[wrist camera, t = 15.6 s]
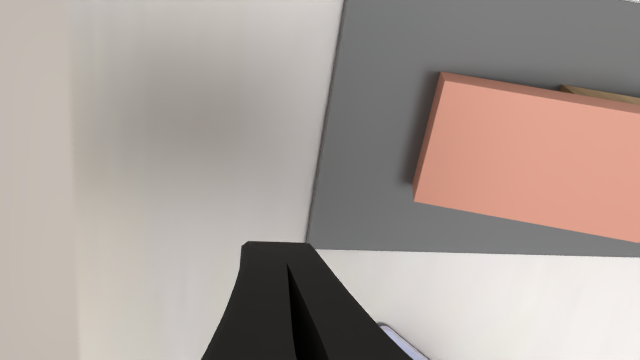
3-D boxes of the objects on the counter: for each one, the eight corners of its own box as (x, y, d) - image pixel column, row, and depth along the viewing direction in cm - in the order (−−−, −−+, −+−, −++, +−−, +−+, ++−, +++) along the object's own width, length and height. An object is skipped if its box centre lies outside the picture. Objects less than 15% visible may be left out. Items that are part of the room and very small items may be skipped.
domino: (413, 201, 20) (639, 243, 19) (445, 80, 18) (699, 124, 17) (412, 184, 21) (621, 222, 21) (440, 71, 19) (674, 111, 19)
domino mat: (305, 243, 22) (307, 248, 22) (351, -44, 17) (354, -43, 17) (778, 257, 28) (786, 261, 28) (919, 48, 23) (930, 50, 23)
